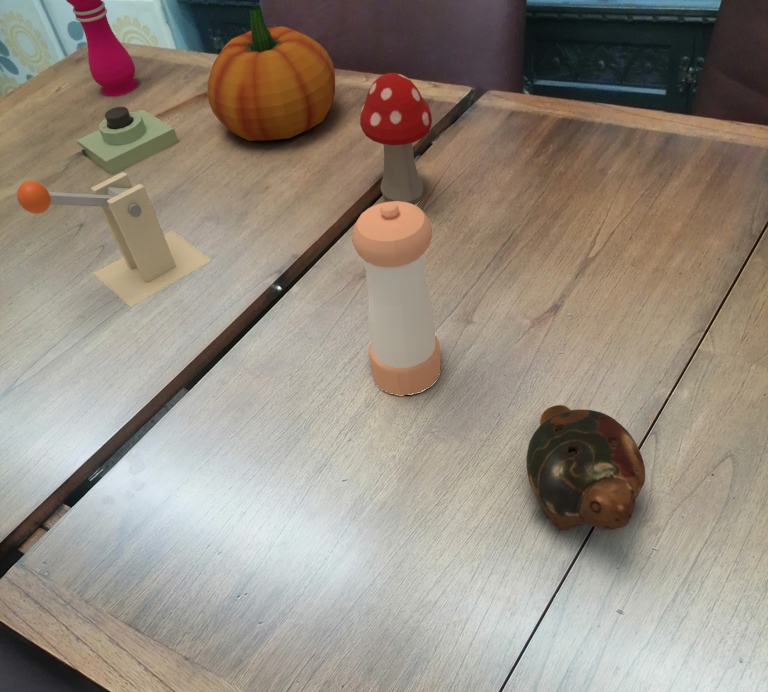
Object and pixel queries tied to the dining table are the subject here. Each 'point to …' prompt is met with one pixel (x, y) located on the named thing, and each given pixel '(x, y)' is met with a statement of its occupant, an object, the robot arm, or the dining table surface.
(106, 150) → the control block
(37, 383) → the dining table surface
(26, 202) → the switch lever
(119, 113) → the button
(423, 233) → the salt shaker
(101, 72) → the pepper mill
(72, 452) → the dining table surface
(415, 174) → the decorative mushroom
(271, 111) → the pumpkin
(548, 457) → the decorative turtle
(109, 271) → the wooden pivot stand
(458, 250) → the dining table surface
